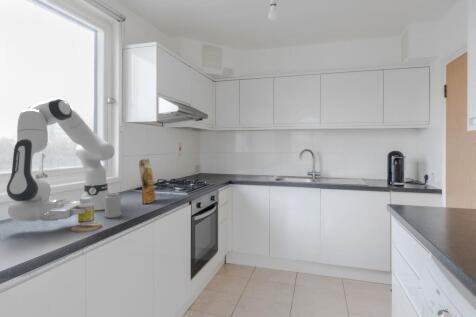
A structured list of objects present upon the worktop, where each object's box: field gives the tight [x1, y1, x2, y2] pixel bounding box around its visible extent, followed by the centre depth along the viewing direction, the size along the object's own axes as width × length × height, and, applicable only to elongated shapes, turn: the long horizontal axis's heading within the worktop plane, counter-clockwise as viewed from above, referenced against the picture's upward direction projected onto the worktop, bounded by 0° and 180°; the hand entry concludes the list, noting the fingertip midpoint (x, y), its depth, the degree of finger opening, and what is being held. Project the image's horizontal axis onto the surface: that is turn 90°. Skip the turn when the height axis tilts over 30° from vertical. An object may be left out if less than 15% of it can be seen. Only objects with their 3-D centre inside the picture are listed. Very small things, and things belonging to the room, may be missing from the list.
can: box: [104, 192, 122, 219], centre depth 141 cm, size 8×8×12 cm
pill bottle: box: [77, 197, 95, 225], centre depth 121 cm, size 6×6×11 cm
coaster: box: [70, 222, 103, 233], centre depth 122 cm, size 12×12×1 cm
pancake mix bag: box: [138, 158, 157, 204], centre depth 179 cm, size 7×19×28 cm, turn 174°
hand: (88, 209), depth 121 cm, fingers closed on pill bottle, 6 cm apart
